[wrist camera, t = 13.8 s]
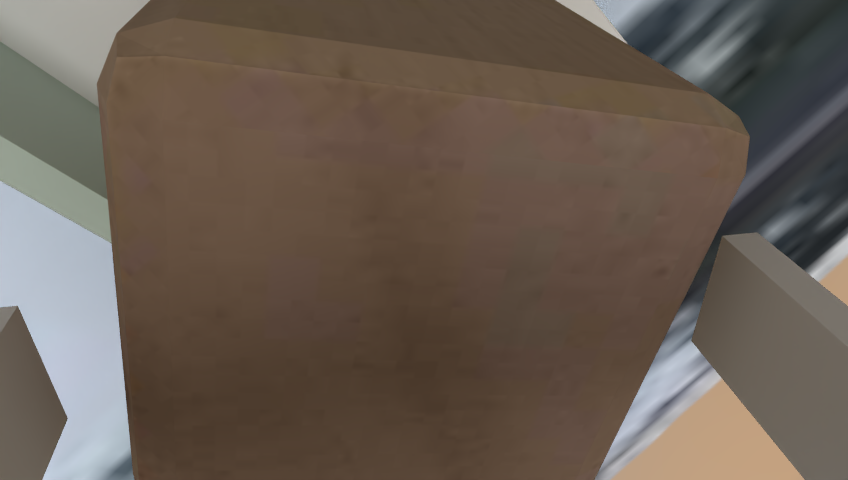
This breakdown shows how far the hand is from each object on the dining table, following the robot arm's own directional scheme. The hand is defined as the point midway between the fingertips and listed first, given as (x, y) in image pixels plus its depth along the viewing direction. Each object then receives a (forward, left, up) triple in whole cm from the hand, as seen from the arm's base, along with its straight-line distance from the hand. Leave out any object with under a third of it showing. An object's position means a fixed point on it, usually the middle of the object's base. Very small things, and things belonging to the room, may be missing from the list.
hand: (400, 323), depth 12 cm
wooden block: (0, 0, -19) cm, 19 cm away
